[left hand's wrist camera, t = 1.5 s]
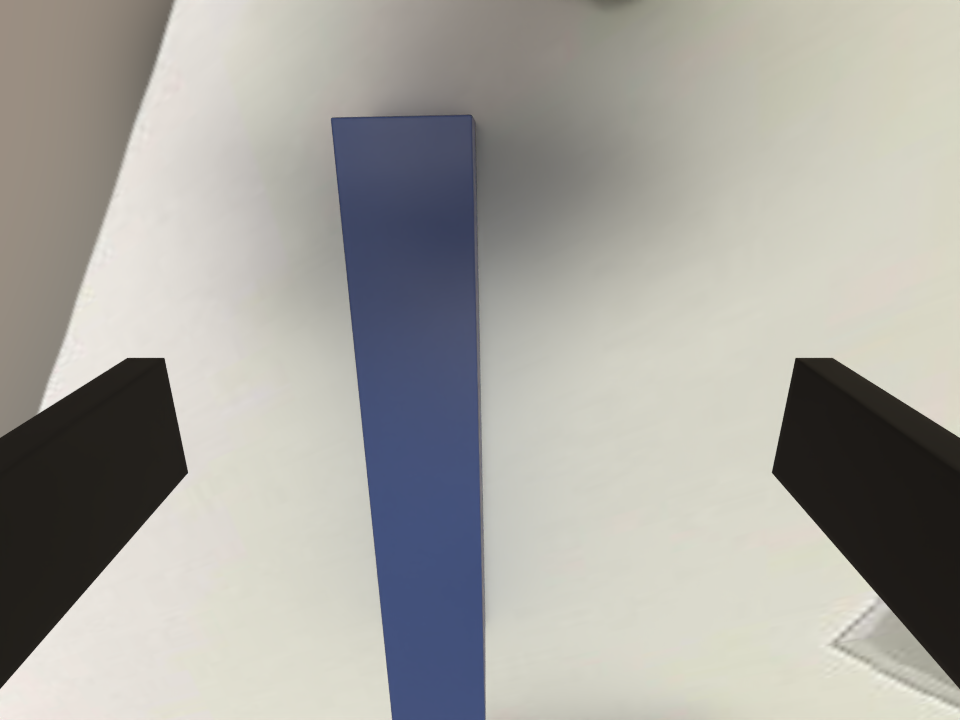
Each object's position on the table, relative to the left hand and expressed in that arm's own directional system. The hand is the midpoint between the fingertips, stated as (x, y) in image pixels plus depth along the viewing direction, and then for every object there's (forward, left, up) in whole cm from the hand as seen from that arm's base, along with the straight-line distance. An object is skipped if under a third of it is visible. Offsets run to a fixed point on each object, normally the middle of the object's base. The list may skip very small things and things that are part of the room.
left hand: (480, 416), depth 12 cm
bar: (+11, +3, -22) cm, 24 cm away
